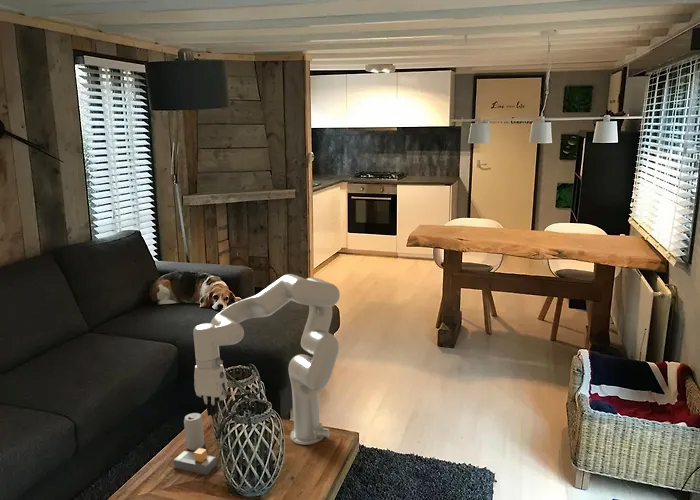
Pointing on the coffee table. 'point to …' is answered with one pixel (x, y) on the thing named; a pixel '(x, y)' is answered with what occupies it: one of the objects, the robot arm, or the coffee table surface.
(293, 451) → the coffee table surface
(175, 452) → the coffee table surface
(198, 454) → the orange cube
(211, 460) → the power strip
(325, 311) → the robot arm
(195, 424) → the beverage can
